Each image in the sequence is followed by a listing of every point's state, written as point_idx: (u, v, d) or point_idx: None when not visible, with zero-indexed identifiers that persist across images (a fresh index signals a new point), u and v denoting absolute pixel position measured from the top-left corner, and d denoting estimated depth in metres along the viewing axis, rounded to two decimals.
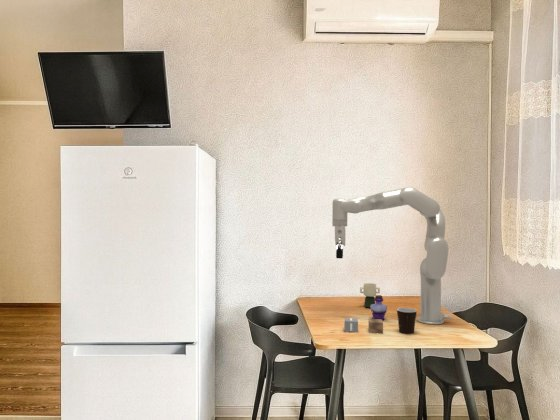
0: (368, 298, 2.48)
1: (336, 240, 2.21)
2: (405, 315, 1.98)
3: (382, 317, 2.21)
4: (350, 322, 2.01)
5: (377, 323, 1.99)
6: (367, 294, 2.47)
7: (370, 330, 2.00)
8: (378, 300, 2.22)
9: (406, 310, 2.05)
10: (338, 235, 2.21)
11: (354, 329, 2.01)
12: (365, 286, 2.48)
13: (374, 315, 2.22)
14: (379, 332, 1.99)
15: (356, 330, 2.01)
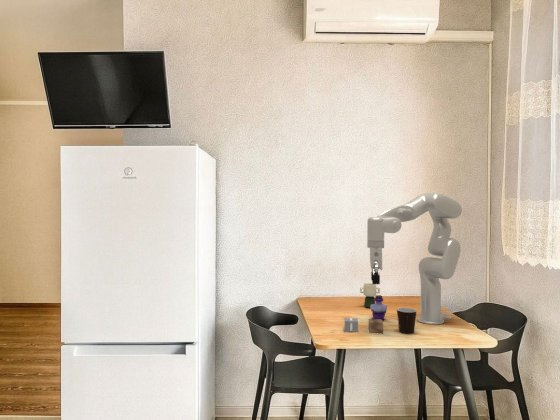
0: (368, 298, 2.48)
1: (372, 264, 1.98)
2: (405, 315, 1.98)
3: (382, 317, 2.21)
4: (350, 322, 2.01)
5: (377, 323, 1.99)
6: (367, 294, 2.47)
7: (370, 330, 2.00)
8: (378, 300, 2.22)
9: (406, 310, 2.05)
10: (375, 259, 1.97)
11: (354, 329, 2.01)
12: (365, 286, 2.48)
13: (374, 315, 2.22)
14: (379, 332, 1.99)
15: (356, 330, 2.01)
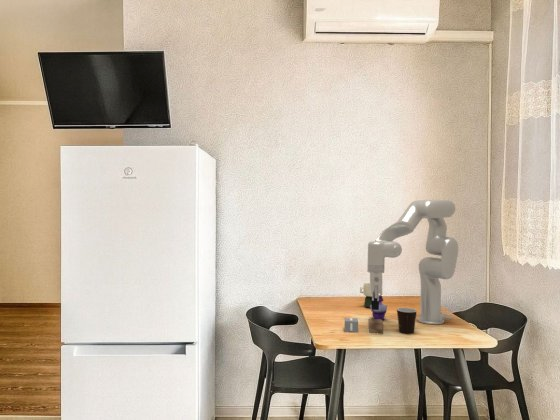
0: (368, 298, 2.48)
1: (372, 289, 1.97)
2: (405, 315, 1.98)
3: (382, 317, 2.21)
4: (350, 322, 2.01)
5: (377, 323, 1.99)
6: (367, 294, 2.47)
7: (370, 330, 2.00)
8: None
9: (406, 310, 2.05)
10: (375, 284, 1.97)
11: (354, 329, 2.01)
12: (365, 286, 2.48)
13: (374, 315, 2.22)
14: (379, 332, 1.99)
15: (356, 330, 2.01)
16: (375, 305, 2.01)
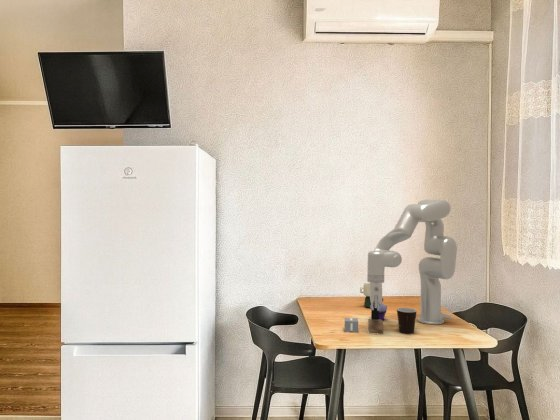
0: (368, 298, 2.48)
1: (372, 298, 1.97)
2: (405, 315, 1.98)
3: (382, 317, 2.21)
4: (350, 322, 2.01)
5: (377, 323, 1.99)
6: (367, 294, 2.47)
7: (370, 330, 2.00)
8: None
9: (406, 310, 2.05)
10: (375, 294, 1.97)
11: (355, 329, 2.01)
12: (365, 286, 2.48)
13: None
14: (379, 332, 1.99)
15: (356, 330, 2.01)
16: (375, 315, 2.01)
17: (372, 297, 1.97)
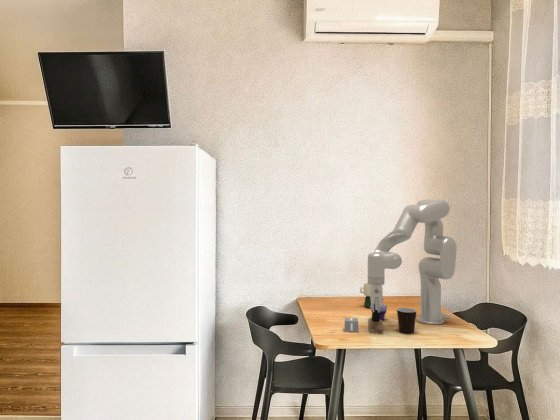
0: (368, 298, 2.48)
1: (373, 300, 1.98)
2: (405, 315, 1.98)
3: (382, 317, 2.21)
4: (350, 322, 2.01)
5: (377, 323, 1.99)
6: (367, 294, 2.47)
7: (370, 330, 2.00)
8: None
9: (406, 310, 2.05)
10: (375, 296, 1.97)
11: (355, 329, 2.01)
12: (365, 286, 2.48)
13: None
14: (379, 332, 1.99)
15: (356, 330, 2.01)
16: (376, 317, 2.01)
17: (372, 299, 1.98)
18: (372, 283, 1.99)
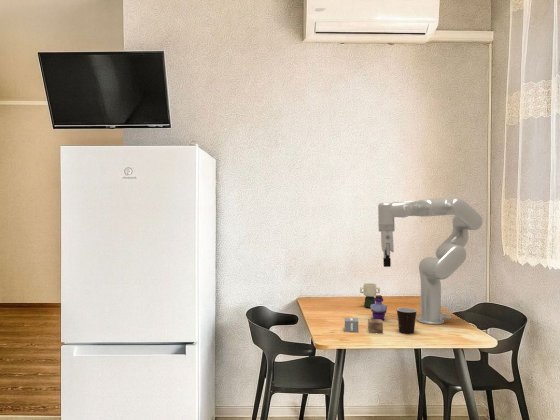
0: (368, 298, 2.48)
1: (384, 246, 2.09)
2: (405, 315, 1.98)
3: (382, 317, 2.21)
4: (350, 322, 2.01)
5: (377, 323, 1.99)
6: (367, 294, 2.47)
7: (370, 330, 2.00)
8: (378, 300, 2.22)
9: (406, 310, 2.05)
10: (386, 241, 2.09)
11: (355, 329, 2.01)
12: (365, 286, 2.48)
13: (374, 315, 2.22)
14: (379, 332, 1.99)
15: (356, 330, 2.01)
16: (387, 262, 2.13)
17: (384, 245, 2.09)
18: (383, 230, 2.11)
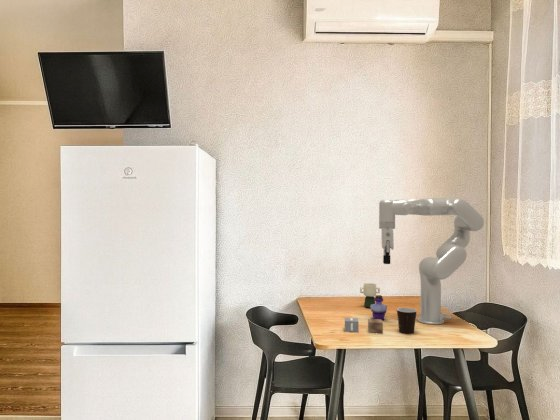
0: (368, 298, 2.48)
1: (384, 243, 2.10)
2: (405, 315, 1.98)
3: (382, 317, 2.21)
4: (351, 322, 2.01)
5: (377, 323, 1.99)
6: (367, 294, 2.47)
7: (370, 330, 2.00)
8: (378, 300, 2.22)
9: (406, 310, 2.05)
10: (387, 239, 2.10)
11: (355, 329, 2.01)
12: (365, 286, 2.48)
13: (374, 315, 2.22)
14: (379, 332, 1.99)
15: (357, 330, 2.01)
16: (387, 259, 2.13)
17: (384, 242, 2.10)
18: (383, 227, 2.12)
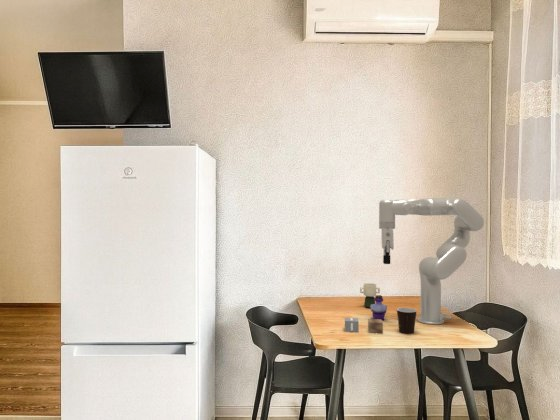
0: (368, 298, 2.48)
1: (384, 243, 2.10)
2: (405, 315, 1.98)
3: (382, 317, 2.21)
4: (351, 322, 2.01)
5: (377, 323, 1.99)
6: (367, 294, 2.47)
7: (370, 330, 2.00)
8: (378, 300, 2.22)
9: (406, 310, 2.05)
10: (387, 239, 2.10)
11: (355, 329, 2.01)
12: (365, 286, 2.48)
13: (374, 315, 2.22)
14: (379, 332, 1.99)
15: (357, 330, 2.01)
16: (387, 259, 2.13)
17: (384, 242, 2.10)
18: (383, 227, 2.12)
